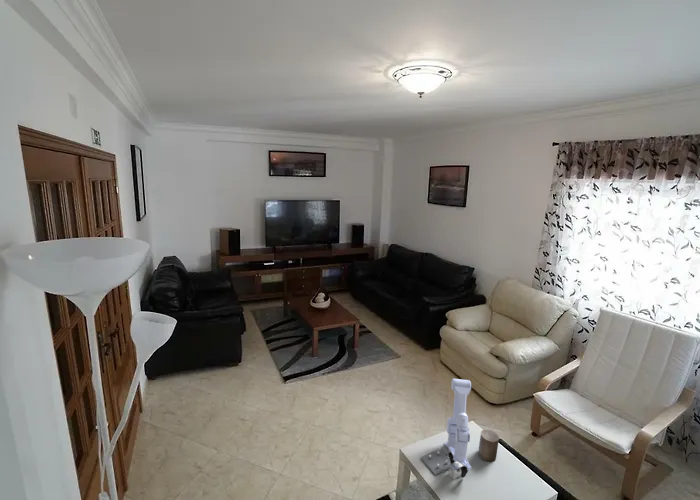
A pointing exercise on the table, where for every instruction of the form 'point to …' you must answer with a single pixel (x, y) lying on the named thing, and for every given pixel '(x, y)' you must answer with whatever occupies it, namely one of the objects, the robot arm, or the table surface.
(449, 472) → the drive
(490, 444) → the pillar candle
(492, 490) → the table surface
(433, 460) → the pin tray
